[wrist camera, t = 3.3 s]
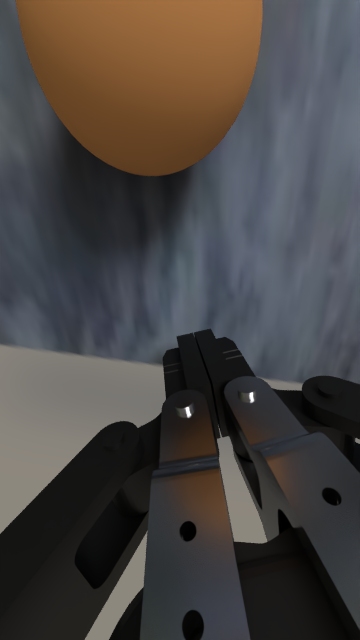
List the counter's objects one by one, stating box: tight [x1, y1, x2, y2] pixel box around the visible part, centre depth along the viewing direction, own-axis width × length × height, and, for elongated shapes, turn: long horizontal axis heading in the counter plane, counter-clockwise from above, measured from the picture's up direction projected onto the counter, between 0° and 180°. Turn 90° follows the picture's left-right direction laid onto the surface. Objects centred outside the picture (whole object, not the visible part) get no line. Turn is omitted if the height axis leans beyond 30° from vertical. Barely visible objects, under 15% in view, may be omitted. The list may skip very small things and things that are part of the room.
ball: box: [16, 0, 262, 176], centre depth 6 cm, size 6×6×6 cm
